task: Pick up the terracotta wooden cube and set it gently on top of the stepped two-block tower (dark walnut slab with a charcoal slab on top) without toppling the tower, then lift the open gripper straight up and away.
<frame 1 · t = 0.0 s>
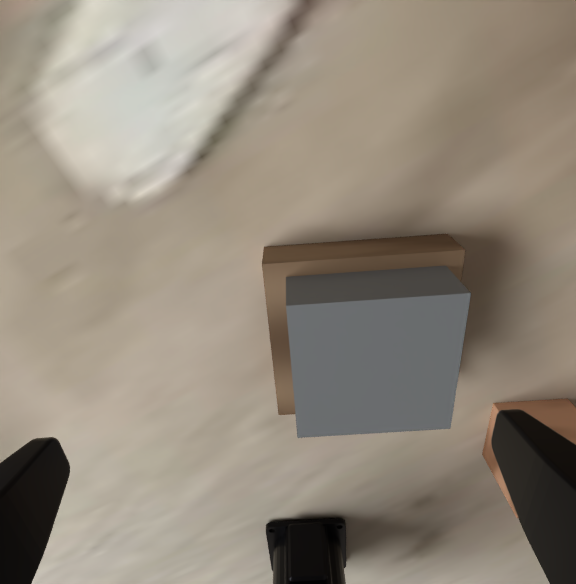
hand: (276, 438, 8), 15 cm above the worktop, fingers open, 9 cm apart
tower base block: (353, 313, 25), on the worktop, touching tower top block
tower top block: (364, 337, 22), point 2 cm above the worktop, touching tower base block
terracotta cube: (522, 426, 28), on the worktop
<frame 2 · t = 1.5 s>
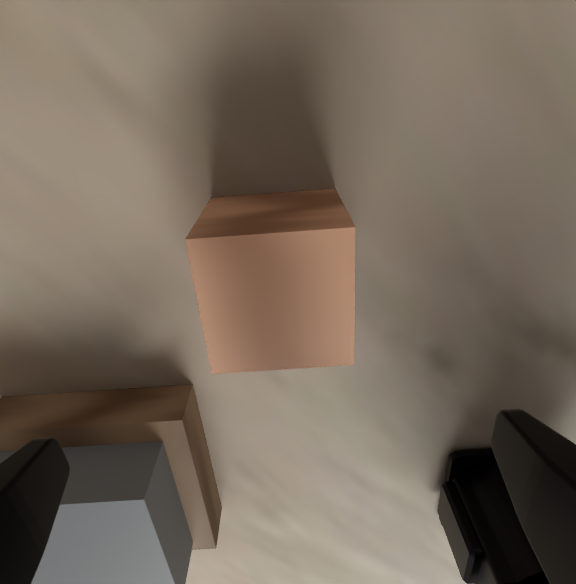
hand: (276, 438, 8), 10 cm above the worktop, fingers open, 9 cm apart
tower base block: (125, 450, 23), on the worktop, touching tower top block
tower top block: (103, 500, 21), point 2 cm above the worktop, touching tower base block
terracotta cube: (278, 250, 17), on the worktop
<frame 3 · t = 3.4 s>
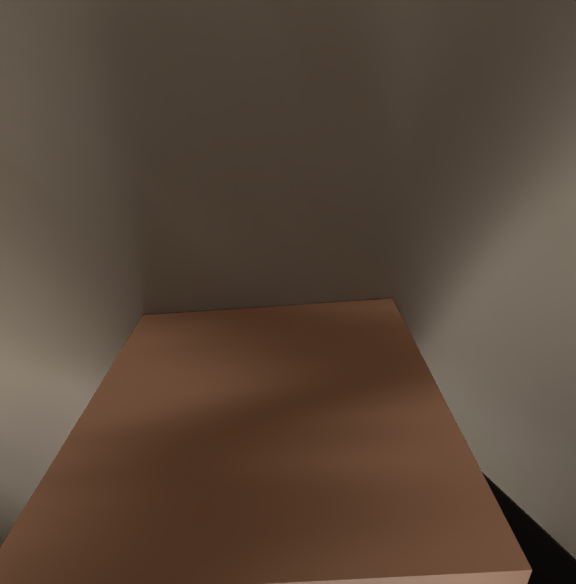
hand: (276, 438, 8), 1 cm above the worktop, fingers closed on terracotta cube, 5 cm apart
terracotta cube: (277, 401, 9), on the worktop, touching gripper
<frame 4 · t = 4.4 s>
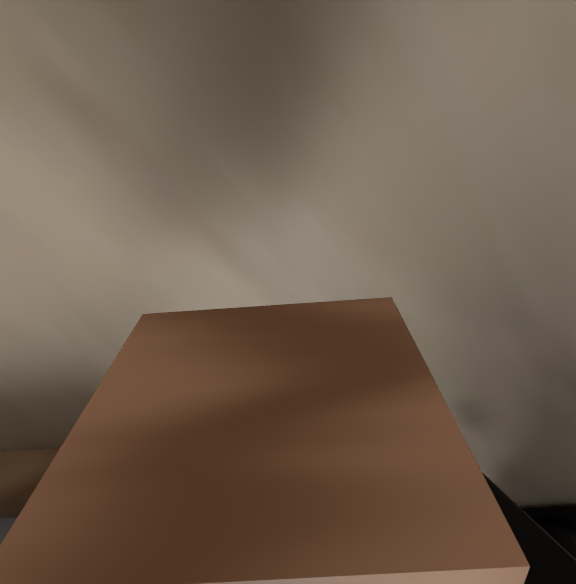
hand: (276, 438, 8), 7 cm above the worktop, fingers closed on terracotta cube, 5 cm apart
tower base block: (104, 508, 20), on the worktop, touching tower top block
terracotta cube: (276, 400, 9), point 6 cm above the worktop, touching gripper
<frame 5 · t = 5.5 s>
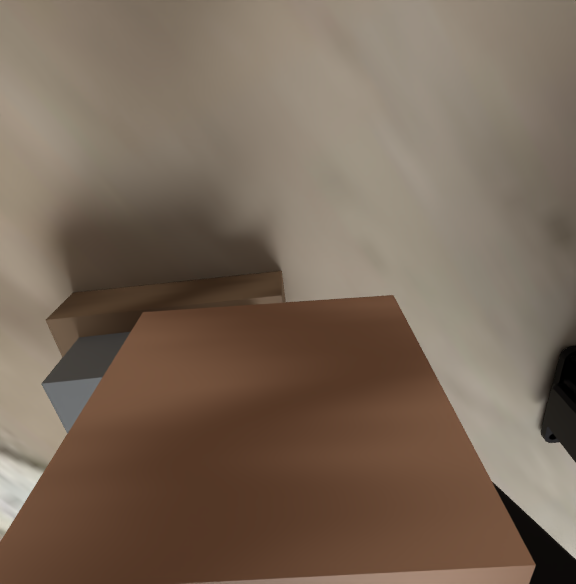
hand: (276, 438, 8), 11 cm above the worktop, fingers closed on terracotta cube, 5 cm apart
tower base block: (200, 360, 22), on the worktop, touching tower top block
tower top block: (191, 398, 19), point 2 cm above the worktop, touching tower base block
terracotta cube: (277, 399, 9), point 10 cm above the worktop, touching gripper
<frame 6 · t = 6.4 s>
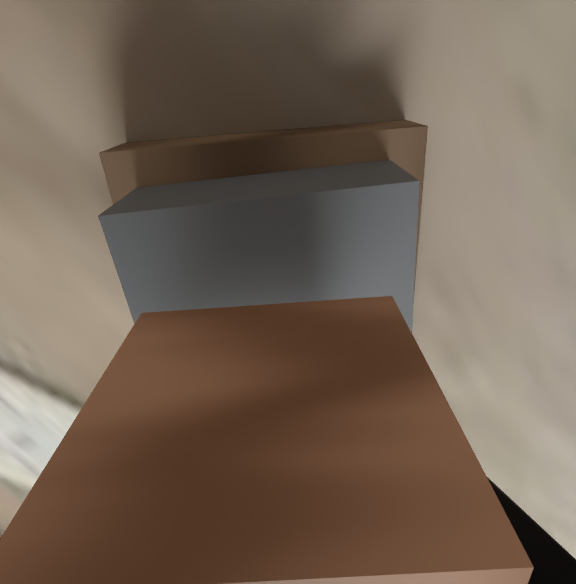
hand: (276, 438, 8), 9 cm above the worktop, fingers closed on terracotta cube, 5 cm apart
tower base block: (277, 255, 17), on the worktop, touching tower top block
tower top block: (276, 286, 14), point 2 cm above the worktop, touching tower base block
terracotta cube: (276, 400, 9), point 8 cm above the worktop, touching gripper
when the fingers open (8 cm above the worktop, at t = 7.0 s): terracotta cube drops 2 cm, point 5 cm above the worktop.
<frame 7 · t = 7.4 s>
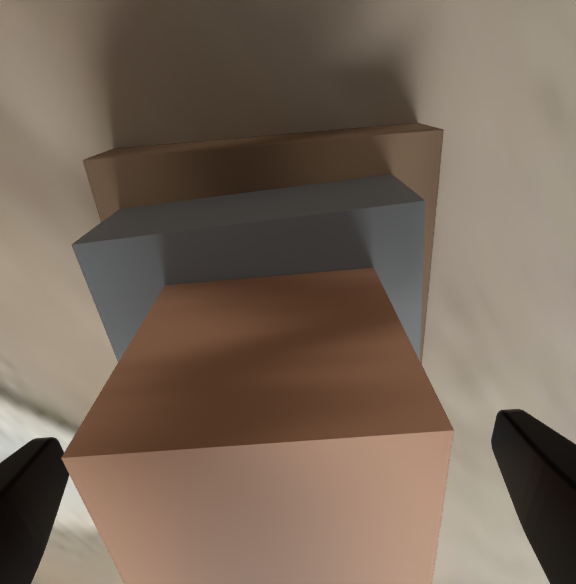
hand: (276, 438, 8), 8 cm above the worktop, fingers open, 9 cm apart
tower base block: (278, 267, 16), on the worktop, touching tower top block
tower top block: (273, 310, 13), point 2 cm above the worktop, touching tower base block
terracotta cube: (278, 360, 11), point 5 cm above the worktop
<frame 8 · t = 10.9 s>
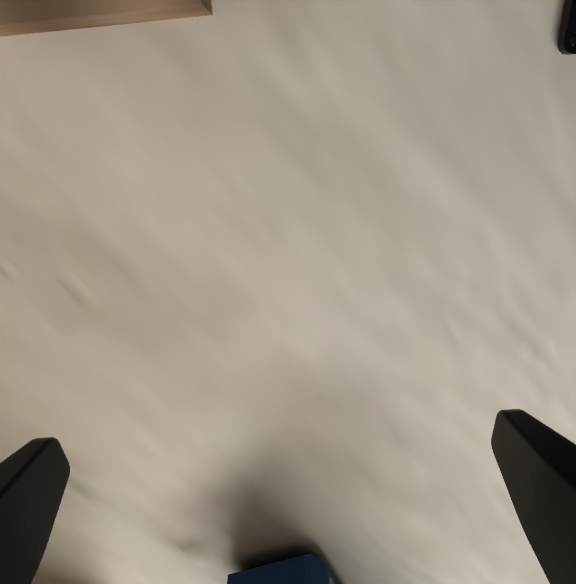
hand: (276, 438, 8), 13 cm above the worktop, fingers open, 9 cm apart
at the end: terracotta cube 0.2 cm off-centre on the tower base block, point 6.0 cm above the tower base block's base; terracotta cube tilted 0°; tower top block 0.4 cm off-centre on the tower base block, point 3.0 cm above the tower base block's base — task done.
